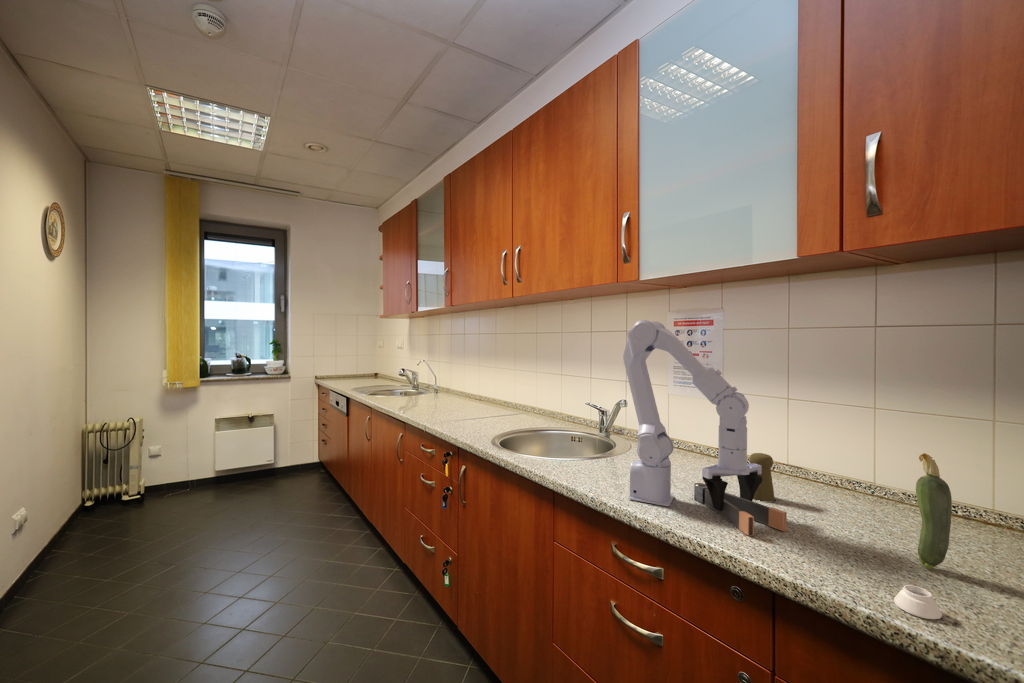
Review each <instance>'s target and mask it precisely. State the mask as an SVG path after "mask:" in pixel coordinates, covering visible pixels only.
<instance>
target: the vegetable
mask: <svg viewBox="0 0 1024 683" xmlns="http://www.w3.org/2000/svg"><path fill="white" fill-rule="evenodd" d="M918 459H919V462H922V466H923V471H924V473H925V475H923V476H920V477H919V478H918V479H917V481H916V484H915V493H916V500H917V504H918V509H919V512H920V515H921V529H920V535H919V540H918V548H917V555H918V560H919V562H920V563H921V564H922V565H923V566H924V567H925V568H926V569H928V570H932V569H934V568H935V567H937V566H940V565H941V564H942V563H943V562H944V561H945V558H946V555H947V554H948V550H949V546H950V536H951V535H950V534H951V526H952V524H951V523H952V512H953V511H952V509H953V508H952V507H953V506H952V500H953V499H952V492H951V489H950V486H949V485H948V483H947V482H946V481H945V480H944V479H943V478H941V475H940V469H939V466H938V464H937V463H936V460H935V459H933V457H932V456H931V455H929V454H928V453H925V452H923V453H921V454H919V456H918Z"/></svg>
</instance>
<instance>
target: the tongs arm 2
mask: <svg viewBox="0 0 1024 683" xmlns="http://www.w3.org/2000/svg"><path fill="white" fill-rule="evenodd" d="M724 499H725V500H726V501H728V502H729V503H731V504H733V505H734V506H736V507H737V508H739V509H740V510H742V511H745V512H747V513H748V514H750V515H752V516H753V517H754V521H756V522H759V523H762V524H765V525H768V527H770V528H773V529H776V530H778V531H781V532H786V531H787V522H788V521H787V520H788V519H787V516H788V515H787V513H788V512H787V511H784V510H781V509H778V508H776V507H769V506H767V505H764V504H762V503H761V504H760V503H758V502H755V501H753V500H752V501H750V500H747V499H744V498H741V497H740V496H738V495H735V494H732V493H729V492H726V491H725V494H724Z"/></svg>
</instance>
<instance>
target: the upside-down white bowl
mask: <svg viewBox="0 0 1024 683" xmlns="http://www.w3.org/2000/svg"><path fill="white" fill-rule="evenodd" d="M893 602H894V605H896V606H897V607H898V608H900V609H901V610H903V611H905V612H906V613H907V614H910V615H912V616H915V617H917V618H922V619H925V620H939V619H941V618H942V617H943V613H942V610H941V609H940V607H939V605H938V603H937V602H936V600H935V599H934V598H933V594H932V593H931V592H930V591H928V590H927V589H925V588H923V587H920V586H916V585H911V584H910V585H909V584H908V585H907V584H906V585H904V586H903V587H902V589H900V590H899V592H898V593H897V594H896V595H895V597H894V598H893Z"/></svg>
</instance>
